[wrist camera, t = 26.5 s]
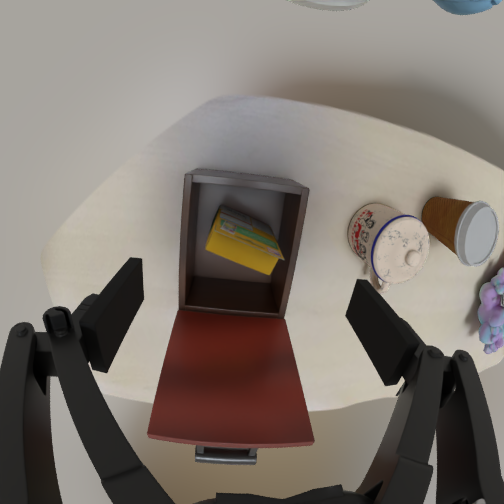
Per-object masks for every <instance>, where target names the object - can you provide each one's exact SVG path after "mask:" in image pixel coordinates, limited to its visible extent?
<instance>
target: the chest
mask: <svg viewBox="0 0 504 504" xmlns="http://www.w3.org/2000/svg"><path fill="white" fill-rule="evenodd" d="M308 195H309V188H307V187H305V186H303V185H301V184H299V183H297V182H295V181H293V180H290V179H283V178H277V177H269V176H262V175H254V174H246V173H237V172H228V171H218V170H208V169H195V170H193V171H191V172H188V173H186V174H185V178H184V190H183V202H182V217H181V234H180V257H179V310H182V311H191V312H200V313H210V314H220V315H231V316H244V317H257V318H272V319H284V316H285V312H286V308H287V303H288V298H289V294H290V289H291V284H292V280H293V275H294V270H295V265H296V260H297V255H298V250H299V245H300V240H301V234H302V229H303V224H304V218H305V213H306V207H307V201H308ZM220 205H224V206H226V207H228V208H230V209H233V210H235V211H237V212H240V213H242V214H244V215H246V216H249V217H251V218H253V219H255V220H257V221H260V222H262V223H264V224H266V225H269V226H270V227H271V230H272V232H273V234H274V237H275V239H276V241H277V244H278V246H279V248H280V251H281V253H282V255H283V257H284V259H285V260H282V259H278V261H277V263H276V265H275V267H274V268H273V270H272V272H271V274H270V275H267V274H264V273H261V272H259V271H256V270H254V269H251V268H249V267H246V266H244V265H241V264H239V263H236V262H234V261H231V260H229V259H227V258H224V257H222V256H219V255H217V254H215V253H212V252H210V251H207V250H205V246H206V242H207V239H208V235H209V231H210V228H211V224H212V221H213V219H214V217H215V214H216V212H217V210H218V208H219V206H220Z"/></svg>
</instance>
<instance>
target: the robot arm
mask: <svg viewBox="0 0 504 504" xmlns="http://www.w3.org/2000/svg"><path fill="white" fill-rule="evenodd" d="M433 1H434V2H435V3H436V4H437V5H439V6H440V7H441V8H442V9H444V10H445V11H447V12H450V13H452V14H457V15H468V14H475V13H479V12H483V11H485V10H488V9H490V8H492V5H497V4H499V3H500V2H501V1H502V0H433ZM143 300H144V290H143V268H142V259H141V258H132V257H130V258H129V259H128V261H127V262H126V263H125V264H124V265H123V266H122V268H121V269H120V270H119V271H118V272H117V273H116V275H115V276H114V277H113V278H112V279H111V281H110V282H109V283H108V284H107V286H106V287H105V288H104V289H103V290H102V292H101V293H100V294H99V295H98V294H91V295H89V296H88V297H86V298H85V299H84V300H83V301H82V302H81V303H80V305H79V306H78V307H77V309H76V310H75V311H74V312H73V313H72V314H71V312H70V310H69V309H68V308H66V307H61V306H58V307H53V308H50V309H48V310H47V311H46V312H45V313H44V314H43V321H44V325H45V328H46V331H47V332H35V330H34V327H33V326H32V324H30V323H27V322H22V323H18V324H16V325H15V326H14V327H12V328H11V331H10V333H9V336H8V340H7V343H6V347H5V351H4V356H3V360H2V364H1V368H0V504H62V499H61V495H60V490H59V485H58V480H57V474H56V468H55V462H54V455H53V445H52V434H51V419H50V376H56V377H58V378H59V381H60V385H61V388H62V391H63V394H64V397H65V400H66V403H67V406H68V408H69V411H70V414H71V416H72V419H73V422H74V424H75V426H76V429H77V431H78V434H79V436H80V438H81V440H82V443H83V445H84V447H85V449H86V451H87V453H88V455H89V457H90V459H91V461H92V463H93V465H94V467H95V469H96V471H97V473H98V474H99V477H100V479H101V483H102V486H103V488H104V489H105V491H106V493H107V494H108V496H109V498H110V499H111V501H112V502H113V504H175V503H174V502H173V500H172V499H171V498H170V497H169V496H168V494H167V493H166V492H165V491H164V489H163V488H162V487H161V486H160V484H159V483H158V482H157V480H156V479H155V478H154V477H153V475H152V474H151V473H150V471H149V470H148V469H147V468H146V466H145V465H143V463H142V462H141V461H140V459H139V458H138V456H137V455H136V453H135V452H134V450H133V449H132V447H131V445H130V444H129V442H128V441H127V439H126V437H125V436H124V434H123V432H122V431H121V429H120V427H119V426H118V424H117V422H116V420H115V418H114V417H113V415H112V413H111V411H110V409H109V408H108V405H107V403H106V402H105V399H104V398H103V395H102V393H101V391H100V389H99V387H98V385H97V383H96V381H95V379H94V376H93V374H92V372H91V370H90V367H89V365H88V363H89V361H90V364H91V367H92V370H96V371H100V372H104V373H107V372H108V370H109V368H110V366H111V364H112V361H113V359H114V357H115V355H116V353H117V351H118V349H119V347H120V345H121V343H122V341H123V339H124V337H125V335H126V333H127V331H128V329H129V327H130V325H131V323H132V321H133V319H134V317H135V315H136V313H137V311H138V310H139V308H140V306H141V304H142V302H143ZM345 316H346V318H347V319H348V321H349V323H350V324H351V326H352V328H353V330H354V331H355V333H356V335H357V336H358V338H359V340H360V342H361V343H362V345H363V347H364V349H365V350H366V352H367V354H368V356H369V358H370V359H371V361H372V363H373V365H374V367H375V368H376V370H377V372H378V374H379V376H380V377H381V379H382V381H383V383H384V385H385V386H390V385H396V384H397V383H398V382H399V380H400V378H401V377H402V376H403V378H404V380H405V382H404V383H403V385H402V386H401V388H400V390H399V391H398V393H397V394H396V396H398V395H399V397H398V400H397V403H396V406H395V408H394V411H393V414H392V417H391V420H390V422H389V425H388V428H387V430H386V432H385V435H384V437H383V440H382V442H381V444H380V447H379V449H378V451H377V453H376V456H375V458H374V460H373V462H372V464H371V466H370V468H369V470H368V472H367V474H366V477H365V478H364V480H363V482H362V484H361V485H360V487H359V488H358V489H357V490H356V492H352V491H343V488H342V485H335V486H331V487H324V488H317V489H312V490H310V491H307V492H304V493H301V494H298V495H295V496H292V497H289V498H286V499H277V498H270V497H264V496H259V495H253V494H233V493H216V498H214V499H207V500H203V501H200V502H197V503H194V504H423V502H424V500H425V497H426V493H427V490H428V487H429V484H430V481H431V477H432V474H433V466H432V465H428V460H429V456H430V452H431V448H432V444H433V440H434V435H435V430H436V437H437V438H436V439H437V491H436V504H504V482H503V479H502V476H501V470H500V462H499V455H498V449H497V444H496V438H495V434H494V429H493V425H492V420H491V417H490V412H489V409H488V405H487V401H486V398H485V394H484V391H483V388H482V384H481V382H480V378H479V375H478V373H477V370H476V367H475V364H474V361H473V359H472V357H471V356H470V355H469V353H468V352H466V351H463V350H456V351H455V352H454V354H453V356H452V357H447V356H444V354H443V353H442V351H441V350H439V349H438V348H436V347H434V346H426V344H425V343H424V342H423V341H422V340H421V338H420V337H419V336H418V335H417V333H415V331H414V330H413V329H412V327H411V326H410V325H409V324H408V323H407V322H406V321H405V320H403V319H402V318H400V317H399V316H398V315H397V314H396V313H395V312H394V310H393V309H392V308H391V307H390V306H389V304H388V303H387V302H386V301H385V300H384V299H383V297H382V296H381V295H380V294H379V293H378V292H377V291H376V289H375V288H374V287H373V286H372V285H371V284H370V283H369V281H368V280H362V279H357V281H356V284H355V287H354V290H353V294H352V297H351V300H350V303H349V306H348V309H347V312H346V315H345ZM455 388H456V389H455ZM454 390H455V391H454Z"/></svg>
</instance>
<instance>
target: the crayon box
mask: <svg viewBox="0 0 504 504" xmlns="http://www.w3.org/2000/svg"><path fill="white" fill-rule="evenodd" d="M205 250H207V251H210V252H212V253H215V254H217V255H219V256H222V257H224V258H227V259H229V260H231V261H234V262H236V263H239V264H241V265H244V266H246V267H249V268H251V269H254V270H256V271H259V272H261V273H264V274H267V275H270V274H271V272H272V270H273V268H274V267H275V265H276V263H277V261H278V259H282V260H285V259H284V257H283V255H282V253H281V251H280V248H279V246H278V244H277V241H276V239H275V237H274V234H273V232H272V230H271V227H270V226H269V225H266V224H264V223H262V222H260V221H257V220H255V219H253V218H251V217H249V216H246V215H244V214H242V213H240V212H237V211H235V210H233V209H230V208H228V207H226V206H224V205H220V206H219V208H218V210H217V212H216V214H215V217H214V219H213V221H212V224H211V228H210V231H209V235H208V239H207V242H206V246H205Z"/></svg>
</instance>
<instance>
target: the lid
mask: <svg viewBox="0 0 504 504" xmlns="http://www.w3.org/2000/svg"><path fill="white" fill-rule="evenodd" d="M147 435H148V437H149V438H152V439H157V440H163V441H169V442H176V443H184V444H192V445H196V450H195V462H200V463H213V464H230V465H255V464H256V459H257V454H256V452H257V449H258V448H282V447H299V446H310V445H312V444H313V443H314V441H315V440H314V436H313V432H312V428H311V423H310V419H309V415H308V410H307V406H306V402H305V398H304V394H303V390H302V385H301V381H300V377H299V373H298V369H297V365H296V361H295V357H294V353H293V349H292V345H291V341H290V337H289V333H288V329H287V325H286V321H285V319H272V318H257V317H244V316H231V315H220V314H210V313H200V312H191V311H182V310H178V311H177V315H176V318H175V322H174V325H173V329H172V332H171V336H170V340H169V343H168V347H167V351H166V355H165V359H164V363H163V367H162V370H161V374H160V379H159V383H158V387H157V391H156V395H155V400H154V404H153V408H152V413H151V418H150V422H149V427H148V432H147Z"/></svg>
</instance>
